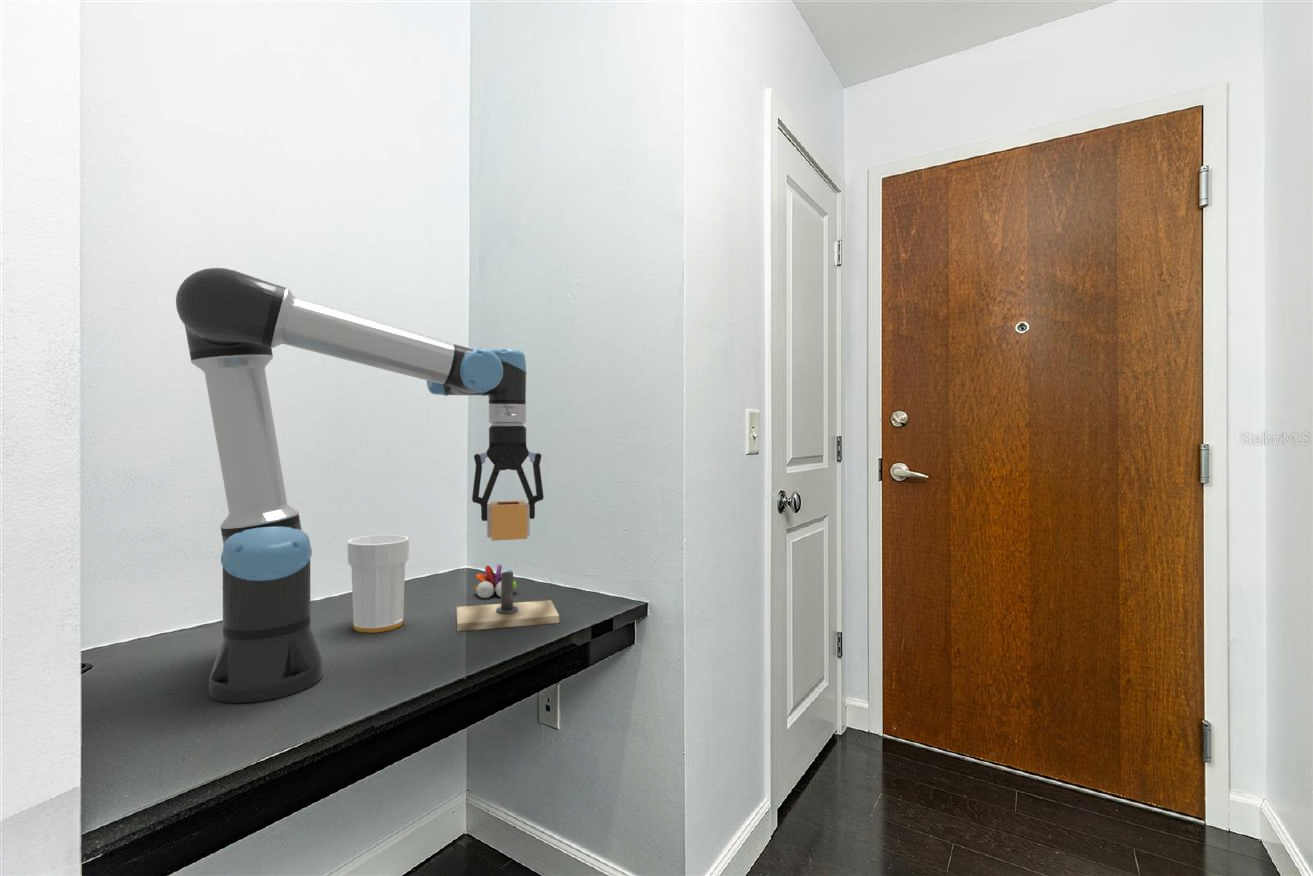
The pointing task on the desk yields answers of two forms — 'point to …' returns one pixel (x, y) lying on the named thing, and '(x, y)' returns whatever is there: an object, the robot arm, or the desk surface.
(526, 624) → the keeper
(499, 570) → the colorful toy
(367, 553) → the cup
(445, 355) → the robot arm
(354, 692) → the desk surface
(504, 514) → the wooden pen holder
